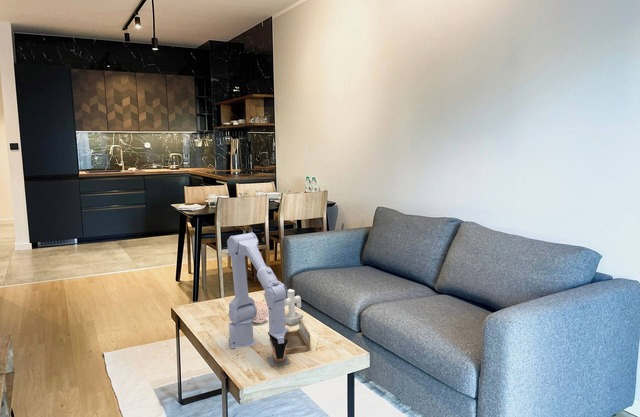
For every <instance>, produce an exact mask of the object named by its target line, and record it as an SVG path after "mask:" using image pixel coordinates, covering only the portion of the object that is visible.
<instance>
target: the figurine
mask: <svg viewBox="0 0 640 417" xmlns="http://www.w3.org/2000/svg"><path fill="white" fill-rule="evenodd" d="M287 293H288V294H287V298H286V299H284V305H285V307H287V306H288V312H287V313H285V325H288V326H294V325H299V318H301V320H302V321H303V318H304V314H301V313H299V312H296V308H298V309H301V308H302V298H301V296H300V295H295V290H294V289H292V288H289V289H287ZM295 304H296V305H295Z"/></svg>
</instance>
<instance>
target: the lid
mask: <svg viewBox="0 0 640 417" xmlns="http://www.w3.org/2000/svg"><path fill="white" fill-rule="evenodd" d="M298 326H299V328H298V329H299V330H300V331H301V333H302V335H303V336H304V338H305V340H306V342H307V343H308V351H307V352H309V351H310V346H311V335H310V334H311V333H310V331H309V329H308V328H307V326H306V325H305V322H304V321H303V319H302V320H301V318H299V324H298Z"/></svg>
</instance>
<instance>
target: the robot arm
mask: <svg viewBox="0 0 640 417" xmlns="http://www.w3.org/2000/svg"><path fill="white" fill-rule="evenodd" d="M226 244H227V252H228V256H229V257H230V260H231V269H232V270H231V271H232V278H233V279H232V280H233V290H234V291H233V292H234V298H233V299H232V300H231V301H230V302H229V304H228V318H229V321H230V323H228V336H229V337H228V342H229V346H230V349H231V350H232V349H236V348H242V347H243V348H244V347H250V346H256V345H257V343H256V341H255V337H254V326H253V325H254V324H253V321H255V318H256V317H257V314H258V310H257V306H256V303H255V300H254V299H253V298H252V297H251V296H249V287H248V276H247V269H246V268H247V266H246V258H245V257H247V258H248V259H249V260H250V262H251V263H252V265H253V266H254V268H255V269H256V271H257V273H256V277H257V279H258V281H259V282H260V284H261V287H262V288H263V290H264V293H263V295H264V299H265V302H266V307H268V308H267V309H268V332H267V335H268V336H269V339H270V338H271V341H270V343H271V342H272V343H271V345H272V344H273V346H274V348H275V353H276V357H277V359H282V358H283V356H284V350H285V347H286V345H287V343H288V340H287V339H284V336H285V333H286V332H289V331H290V329H289V327H286V324H285V314H286V309H285V308H286V306H285V305H284V299H288V296H287V295H288V289H287V286H286V284H284V283H283V282H281V280H278V278H277V276H276V274H275V273H274V271H273V270H272V268H271V267H269V266H267V264H266V263H265V261H264V259H263V256H262V254H261V252H260V250H259V239H258V237H257V235H256V234H255V233H254V232H252V231H250V232H249V233H242V234H241V233H240V234H236V235H230V236H229V238H227V241H226Z"/></svg>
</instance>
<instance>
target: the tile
mask: <svg viewBox="0 0 640 417" xmlns="http://www.w3.org/2000/svg"><path fill="white" fill-rule="evenodd" d="M267 360H268V363H269V366H270V367H278V366H286V365H291V362H290V359H289V357H288V354H287V355H286V360H285V361H284V362H282V363H276V362H274V361H273V356H272V357H267Z"/></svg>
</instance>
